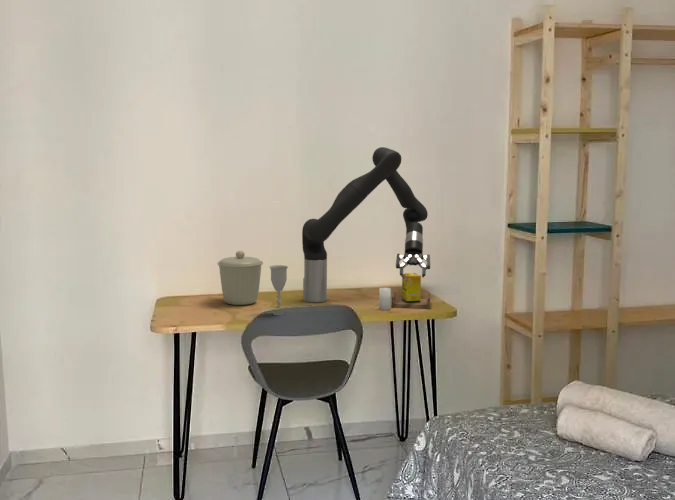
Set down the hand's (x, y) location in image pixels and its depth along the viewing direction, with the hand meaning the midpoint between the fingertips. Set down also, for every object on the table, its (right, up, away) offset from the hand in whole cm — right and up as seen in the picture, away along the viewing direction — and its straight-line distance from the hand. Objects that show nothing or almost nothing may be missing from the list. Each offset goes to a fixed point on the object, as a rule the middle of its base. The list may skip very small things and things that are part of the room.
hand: (412, 276), depth 312 cm
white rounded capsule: (-12, -12, -16) cm, 24 cm away
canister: (-70, -11, -7) cm, 71 cm away
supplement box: (-2, -10, -9) cm, 14 cm away
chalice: (-53, -14, -26) cm, 61 cm away
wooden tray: (-2, -11, -10) cm, 15 cm away
